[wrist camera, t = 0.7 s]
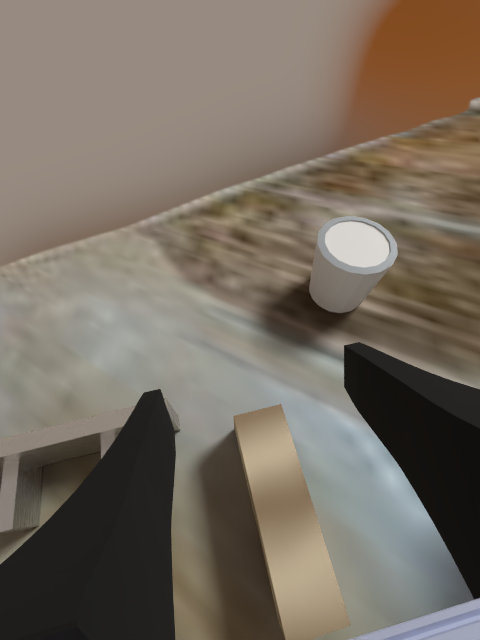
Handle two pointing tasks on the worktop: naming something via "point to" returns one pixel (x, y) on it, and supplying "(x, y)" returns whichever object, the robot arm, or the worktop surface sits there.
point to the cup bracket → (51, 460)
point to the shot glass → (349, 262)
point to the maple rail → (288, 528)
